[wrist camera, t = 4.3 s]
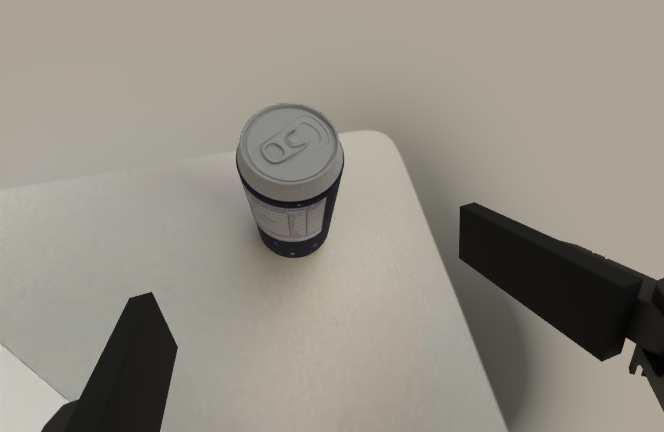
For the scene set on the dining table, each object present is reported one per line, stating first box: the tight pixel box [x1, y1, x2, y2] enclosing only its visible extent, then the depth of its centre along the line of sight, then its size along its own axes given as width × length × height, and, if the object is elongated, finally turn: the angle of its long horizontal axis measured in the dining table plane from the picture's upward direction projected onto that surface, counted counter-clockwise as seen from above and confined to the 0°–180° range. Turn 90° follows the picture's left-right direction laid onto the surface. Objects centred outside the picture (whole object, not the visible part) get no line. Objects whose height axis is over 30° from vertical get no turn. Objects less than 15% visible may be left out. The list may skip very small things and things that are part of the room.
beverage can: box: [236, 103, 344, 258], centre depth 21 cm, size 6×6×12 cm
